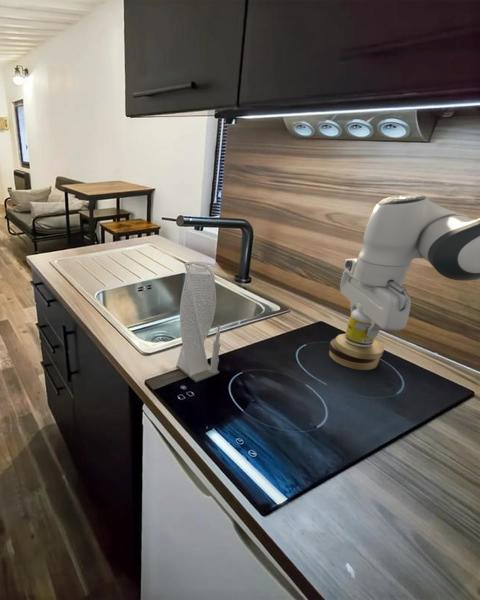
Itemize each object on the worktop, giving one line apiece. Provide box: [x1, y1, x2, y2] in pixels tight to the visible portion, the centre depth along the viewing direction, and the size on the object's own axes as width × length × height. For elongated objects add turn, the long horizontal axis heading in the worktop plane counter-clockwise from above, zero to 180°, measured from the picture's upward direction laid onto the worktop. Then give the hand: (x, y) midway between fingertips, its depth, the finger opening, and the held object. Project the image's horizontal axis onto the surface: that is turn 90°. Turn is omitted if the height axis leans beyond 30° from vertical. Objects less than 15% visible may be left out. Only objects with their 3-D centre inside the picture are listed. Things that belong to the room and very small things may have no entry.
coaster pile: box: [328, 333, 385, 371], centre depth 87 cm, size 10×10×4 cm
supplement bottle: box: [345, 303, 376, 347], centre depth 84 cm, size 5×5×10 cm
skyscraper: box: [175, 261, 222, 383], centre depth 82 cm, size 8×8×28 cm
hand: (362, 328), depth 84 cm, fingers closed on supplement bottle, 5 cm apart
